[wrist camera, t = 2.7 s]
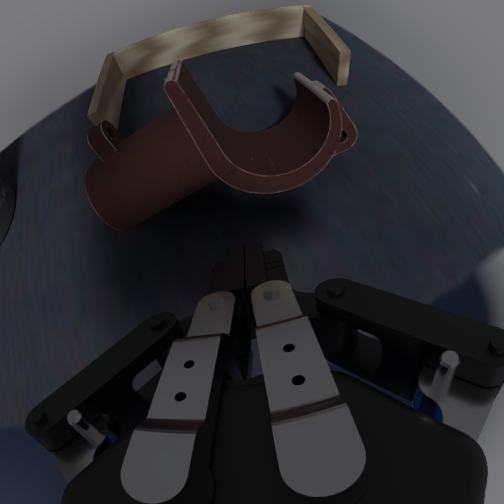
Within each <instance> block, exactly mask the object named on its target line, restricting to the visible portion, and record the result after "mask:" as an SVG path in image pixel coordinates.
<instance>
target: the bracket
mask: <svg viewBox="0 0 504 504" xmlns="http://www.w3.org/2000/svg"><path fill="white" fill-rule="evenodd" d="M293 77H294V80H295V83H296V90H297V94H296V100H295V103H294V106H293V108H292V110H291V112H290V113H289V115H288V116H287V117H286V118H285V119H284V120H283V121H282V122H281V123H279V124H278V125H276V126H274V127H272V128H270V129H268V130H265V131H261V132H241V131H238V130H235V129H232V128H230V127H228V126H227V125H225V124H224V123H223V122H222V121H221V120H220V119H219V118H218V117H217V115H216V114H215V112H214V111H213V109H212V107H211V106H210V104H209V103H208V101H207V99H206V98H205V96H204V95H203V93H202V92H201V90H200V88H199V87H198V85H197V84H196V82H195V81H194V79H193V77H192V76H191V74H190V73H189V71H188V70H187V68H186V67H185V65H184V64H183V62H182V61H181V60H175V61H174V62H173V63H172V66H171V68H170V71H169V73H168V76H167V77H165V78H164V79H165V84H164V91H165V92H166V94H167V96H168V98H169V99H170V101H171V103H172V104H173V106H174V108H172V109H170V110H169V111H167V112H166V113H164V114H162V115H161V116H159V117H158V118H156V119H154V120H153V121H151V122H150V123H148V124H147V125H145V126H144V127H142V128H141V129H139V130H138V131H136V132H135V133H133V134H132V135H131V136H129V137H128V138H124V137H123V136H122V135H121V134H120V133H119V131H118V130H117V129H116V128H115V127H114V125H113V124H112V123H110V122H109V121H107V120H103V121H102V122H100V123H99V124H98V125H97V126H95V127H94V128H93V129H92V130H91V131H89V132H88V134H87V140H88V143H89V145H90V147H91V148H92V150H93V151H94V152H95V153H96V154H97V155H98V156H99V157H100V158H99V159H98V160H97V161H95V162H94V163H93V164H92V165H90V166H89V167H88V169H87V170H86V173H85V189H86V193H87V196H88V199H89V201H90V203H91V205H92V207H93V209H94V210H95V212H96V213H97V215H98V216H99V217H100V218H101V219H102V220H103V221H104V222H105V223H106V224H107V225H109V226H110V227H112V228H113V229H116V230H118V231H127V230H130V229H131V228H133V227H134V226H136V225H138V224H139V223H141V222H143V221H145V220H146V219H148V218H150V217H151V216H153V215H155V214H156V213H158V212H160V211H162V210H163V209H165V208H167V207H169V206H170V205H172V204H174V203H176V202H178V201H179V200H181V199H183V198H185V197H187V196H188V195H190V194H192V193H194V192H196V191H198V190H200V189H201V188H203V187H205V186H207V185H209V184H211V183H213V182H215V181H217V180H219V179H221V180H222V181H223V182H225V183H226V184H228V185H230V186H232V187H234V188H236V189H239V190H242V191H245V192H250V193H258V194H270V193H278V192H283V191H287V190H290V189H293V188H295V187H298V186H300V185H302V184H304V183H306V182H307V181H309V180H310V179H312V178H313V177H314V176H316V175H317V174H318V173H319V172H320V171H321V170H322V169H323V168H324V167H325V166H326V165H327V164H328V162H329V161H330V160H331V158H332V157H333V156H334V155H336V154H339V153H341V152H343V151H346V150H348V149H349V148H350V147H352V146H353V144H354V143H355V141H356V139H357V129H356V127H355V125H354V124H353V122H352V121H351V119H350V118H349V116H348V115H347V113H346V112H345V110H344V109H343V108H342V106H341V105H340V103H339V102H338V100H337V99H336V98H335V96H334V95H333V93H332V92H331V91H330V89H329V88H327V87H326V86H324V85H323V84H322V83H320V82H319V81H310V80H309V79H308V78H306V77H305V76H303V75H302V74H301V73H299V72H296V73H295V74H294V76H293Z"/></svg>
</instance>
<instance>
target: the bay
mask: <svg viewBox="0 0 504 504" xmlns="http://www.w3.org/2000/svg"><path fill="white" fill-rule="evenodd" d="M296 37H305V38H306V39H307V41H308V42H309V43H310V45H311V46H312V48H313V49H314V51H315V52H316V54H317V55H318V57H319V58H320V60H321V61H322V63H323V64H324V66H325V67H326V69H327V71H328V72H329V74H330V75H331V77H332V79H333V80H334V82H335V84H336V85H337V86H341V85H347V80H348V72H349V64H350V55H351V51H350V50H349V49H348V47H347V46H346V45H345V44H344V42H343V41H342V40H341V39H340V38H339V37H338V35H337V34H336V33H335V32H334V31H333V30H332V28H331V27H330V26H329V25H328V24H327V23H326V22H325V21H324V20H323V19H322V17H321V16H320V15H319V14H318V13H317V12H316V11H315V10H314V9H313V8H312V7H311V6H310V5H303V6H289V7H280V8H271V9H263V10H256V11H250V12H245V13H239V14H233V15H228V16H224V17H219V18H215V19H210V20H206V21H203V22H198V23H195V24H191V25H187V26H184V27H180V28H177V29H174V30H171V31H168V32H165V33H162V34H159V35H156V36H153V37H150V38H147V39H145V40H142V41H140V42H137V43H134V44H132V45H129V46H127V47H124V48H122V49H120V50H117V51H115V52H113V53H110V54H108V55H107V56H106V59H105V61H104V64H103V67H102V70H101V73H100V75H99V78H98V81H97V84H96V87H95V91H94V94H93V97H92V101H91V104H90V107H89V111H88V115H87V116H88V118H89V119H90V120H91V121H92V123H93V124H94V125H95V126H97V125H98V124H99V123H100V122H102V121H103V120H107V121H109V122H110V123H112V124H113V125H114V127H115V128H116V129H117V130H118V124H119V117H120V111H121V106H122V100H123V95H124V90H125V85H126V80H127V79H130V78H132V77H135V76H137V75H140V74H143V73H145V72H148V71H151V70H154V69H157V68H160V67H163V66H166V65H169V64H172V63H173V62H174V61H175V60H181V61H182V60H185V59H188V58H192V57H195V56H199V55H203V54H207V53H211V52H215V51H219V50H223V49H228V48H233V47H237V46H242V45H248V44H253V43H259V42H265V41H272V40H279V39H287V38H296Z"/></svg>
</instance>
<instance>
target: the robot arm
mask: <svg viewBox="0 0 504 504" xmlns="http://www.w3.org/2000/svg"><path fill="white" fill-rule="evenodd" d="M14 206H15V193H14V190H13V189H12V188H11V187H10V186H9V185H7V184H6V183H5V182H3V181H2V180H1V179H0V244H1V242H2V240H3V238H4V236H5V235H6V232H7V230H8V227H9V225H10V222H11V219H12V215H13V211H14ZM358 329H360V330H362V331H365V332H367V333H370V334H372V335H374V336H376V337H377V338H378V339H379V340H380V341H377V340H375V339H373V338H370V337H368V336H365V335H363V334H361V333H358ZM255 338H257V341H258V347H259V352H260V358H261V363H262V369H263V374H262V375H259V376H256V377H254V378H252V362H253V352H252V349H251V339H255ZM155 359H156V360H157V361H158V363H159V365H160V366H161V368H162V370H161V371H160V372H158V373H157V374H156V375H155V376H154V377H153V378H152V379H150V380H149V381H148V382H147V383H146V384H145V385H144V386H142V387H141V388H140V389H139V390H138V391H135V390H134V389H133V386H132V381H133V379H134V377H135V376H136V375H137V374H138V373H139V372H141V371H142V370H143V369H144V368H145V367H146V366H148V365H149V364H150V363H151V362H152V361H153V360H155ZM325 359H326V360H328V361H329V362H331V363H333V364H335V365H337V366H339V367H341V368H343V369H345V370H347V371H349V372H351V373H353V374H355V375H357V376H359V377H361V378H363V379H365V380H367V381H369V382H371V383H373V384H375V385H377V386H379V387H381V388H383V389H385V390H387V391H390V392H392V393H394V394H396V395H398V396H400V397H402V398H404V399H407V400H409V401H411V402H412V405H413V408H412V407H410V406H408V405H406V404H404V403H402V402H400V401H398V400H396V399H395V398H392V397H390V396H389V395H387V394H385V393H383V392H381V391H379V390H377V389H376V388H374V387H372V386H370V385H368V384H366V383H364V382H363V381H361V380H359V379H357V378H355V377H353V376H350V375H348V374H346V373H342V372H338V371H332V370H330V369H329V367H328V365H327V362H326V360H325ZM503 384H504V329H501V328H498V327H495V326H492V325H488V324H486V323H482V322H479V321H476V320H473V319H470V318H467V317H464V316H460V315H458V314H454V313H451V312H448V311H445V310H442V309H439V308H436V307H433V306H429V305H426V304H423V303H420V302H417V301H414V300H411V299H408V298H404V297H401V296H398V295H395V294H392V293H389V292H386V291H382V290H379V289H376V288H373V287H370V286H367V285H364V284H360V283H357V282H354V281H351V280H348V279H343V278H334V279H329V280H326V281H324V282H322V283H320V284H319V285H318V286H317V287H316V289H315V293H303V292H298V291H296V290H294V289H292V288H291V286H290V284H289V281H288V277H287V274H286V270H285V266H284V262H283V258H282V255H281V253H279V252H278V251H276V250H271V251H266V252H264V251H263V246H262V243H261V242H257V243H252V244H248V245H245V246H239V247H235V248H230V249H228V251H227V260H225V261H221V262H218V263H217V264H216V265H215V267H214V268H213V270H212V276H211V282H210V287H209V292H208V295H207V296H205V297H204V298H202V299H201V300H200V301H199V303H198V305H197V307H196V310H195V313H194V315H192V316H190V317H187V318H185V319H182V320H180V321H178V320H177V318H176V316H175V315H174V314H173V313H170V312H163V313H159V314H156V315H154V316H152V317H150V318H148V319H147V320H146V321H144V322H143V323H142V324H141V325H139V326H138V327H137V328H135V329H134V330H133V331H132V332H130V333H129V334H128V335H126V336H125V337H124V338H122V339H121V340H120V341H119V342H117V343H116V344H115V345H113V346H112V347H111V348H110V349H108V350H107V351H106V352H104V353H103V354H102V355H101V356H99V357H98V358H97V359H95V360H94V361H93V362H92V363H90V364H89V365H88V366H87V367H85V368H84V369H83V370H81V371H80V372H79V373H78V374H76V375H75V376H74V377H73V378H71V379H70V380H69V381H67V382H66V383H65V384H64V385H62V386H61V387H60V388H59V389H57V390H56V391H55V392H53V393H52V394H51V395H50V396H48V397H47V398H46V399H45V400H43V401H42V402H41V403H40V404H38V405H37V406H36V407H35V408H33V409H32V410H31V412H30V413H29V414H28V416H27V418H26V422H25V428H26V430H27V432H28V433H29V434H30V435H31V436H32V437H33V438H34V439H35V440H36V441H37V442H39V443H40V444H41V445H42V446H43V448H44V449H45V450H46V451H48V452H49V453H50V454H51V455H52V457H53V458H54V460H55V462H56V464H57V466H58V468H59V469H60V471H61V473H62V474H63V476H64V478H65V479H66V481H67V483H68V485H67V487H66V489H65V490H64V493H63V496H62V500H61V504H484V497H485V489H486V484H487V476H488V467H487V461H486V457H485V455H484V452H483V450H482V449H481V447H480V446H479V444H478V443H477V442H476V441H477V439H478V437H479V435H480V433H481V430H482V428H483V426H484V424H485V421H486V419H487V416H488V414H489V412H490V409H491V406H492V404H493V401H494V399H495V398H496V396H497V395H498V393H499V391H500V389H501V388H502V386H503Z"/></svg>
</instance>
